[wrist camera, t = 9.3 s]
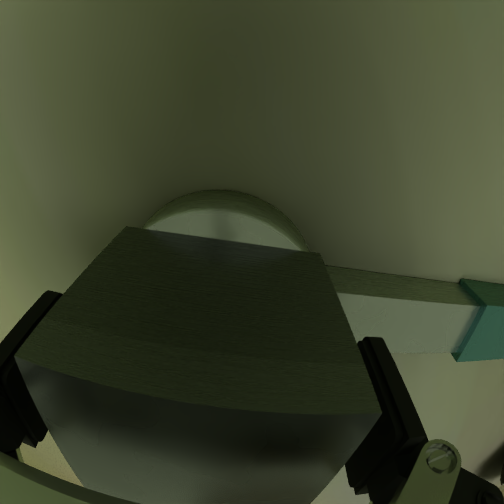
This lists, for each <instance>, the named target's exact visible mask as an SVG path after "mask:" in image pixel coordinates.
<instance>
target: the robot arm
mask: <svg viewBox="0 0 504 504" xmlns="http://www.w3.org/2000/svg"><path fill="white" fill-rule="evenodd" d="M62 295H63V294H62V293H58V292H54V291H49V290H48V291H46V292H45V293H44V294H43V295H42V296H41V297H40V298H39V299H38V300H37V301H36V302H35V303H34V305H33V306H32V307H31V308H30V309H29V310H28V311H27V312H26V314H25V315H24V316H23V317H22V318H21V319H20V320H19V322H18V323H17V324H16V325H15V326H14V328H13V329H12V330H11V331H10V332H9V333H8V335H7V336H6V337H5V338H4V340H3V341H2V342H1V343H0V504H140V503H136V502H132V501H128V500H124V499H121V498H117V497H113V496H110V495H106V494H103V493H100V492H97V491H93V490H90V489H87V488H84V487H81V486H79V485H76V484H73V483H70V482H68V481H65V480H62V479H60V478H57V477H55V476H52V475H50V474H48V473H45V472H43V471H41V470H38V469H36V468H34V467H31V466H29V465H27V464H25V463H24V461H23V458H22V454H21V451H20V445H21V443H22V442H23V443H25V444H27V445H30V446H32V447H34V448H36V446H37V444H38V442H41V441H42V440H43V439H44V437H45V435H46V433H47V431H48V428H47V426H46V425H45V423H44V421H43V419H42V417H41V415H40V413H39V411H38V409H37V407H36V405H35V403H34V401H33V399H32V397H31V395H30V393H29V391H28V388H27V386H26V384H25V382H24V379H23V377H22V375H21V372H20V370H19V368H18V365H17V363H16V360H15V358H14V355H15V354H16V352H17V351H18V350H19V348H20V347H21V346H22V345H23V343H24V342H25V341H26V339H27V338H28V337H29V335H30V334H31V333H32V332H33V330H34V329H35V328H36V327H37V325H38V324H39V323H40V322H41V320H42V319H43V318H44V317H45V315H46V314H47V313H48V312H49V311H50V309H51V308H52V307H53V306H54V305H55V303H56V302H57V301H58V300H59V299H60V298H61V296H62ZM357 345H358V348H359V350H360V353H361V356H362V358H363V361H364V364H365V366H366V369H367V372H368V374H369V377H370V380H371V383H372V385H373V388H374V391H375V394H376V396H377V399H378V402H379V405H380V408H381V411H382V414H381V416H380V417H379V419H378V420H377V422H376V423H375V424H374V426H373V427H372V429H371V430H370V432H369V433H368V434H367V436H366V437H365V438H364V440H363V441H362V442H361V444H360V445H359V446H358V448H357V449H356V450H355V452H354V453H353V454H352V456H351V457H350V458H349V459H348V461H347V462H346V463H345V467H346V472H347V477H348V483H349V485H350V487H354V491H355V495H359V494H366V493H369V497H370V502H369V504H504V497H503V494H502V492H501V491H500V489H499V488H498V487H497V486H495V485H494V484H492V483H490V482H488V481H486V480H484V479H482V478H480V477H478V476H476V475H474V474H472V473H471V472H469V471H467V470H465V469H463V468H461V456H460V454H459V452H458V450H457V449H456V448H455V447H454V445H452V444H451V443H449V442H448V441H445V440H442V439H435V440H431V441H428V438H427V435H426V433H425V430H424V428H423V426H422V423H421V421H420V418H419V416H418V414H417V411H416V409H415V407H414V404H413V402H412V400H411V397H410V395H409V393H408V391H407V388H406V386H405V384H404V382H403V379H402V377H401V375H400V373H399V371H398V368H397V366H396V364H395V362H394V360H393V358H392V356H391V353H390V351H389V349H388V347H387V345H386V343H385V341H384V339H383V338H382V337H368V336H366V337H364V338H363V340H362V341H358V342H357Z"/></svg>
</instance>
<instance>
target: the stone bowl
mask: <svg viewBox="0 0 504 504" xmlns="http://www.w3.org/2000/svg"><path fill="white" fill-rule="evenodd" d="M500 481H501V486H500V487H499V489H500V491H501V492H502V494H503V497H504V465H503V468H502V472H501V478H500Z"/></svg>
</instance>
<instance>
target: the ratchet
mask: <svg viewBox="0 0 504 504" xmlns="http://www.w3.org/2000/svg"><path fill="white" fill-rule="evenodd" d="M142 229H149V230H157V231H164V232H171V233H178V234H186V235H193V236H200V237H207V238H215V239H222V240H229V241H236V242H243V243H250V244H257V245H264V246H271V247H278V248H285V249H292V250H299V251H306V252H309V250H308V248H307V245H306V243H305V241H304V239H303V237H302V236H301V234H300V232H299V231H298V229H297V228H296V227H295V226H294V224H293V223H292V222H291V221H290V220H289V219H288V218H287V217H286V216H285V215H284V214H283V213H282V212H281V211H279V210H278V209H276V208H275V207H273V206H272V205H270V204H269V203H267V202H265V201H263V200H261V199H259V198H256V197H254V196H251V195H248V194H245V193H240V192H235V191H228V190H207V191H200V192H195V193H191V194H188V195H185V196H182V197H180V198H178V199H176V200H174V201H172V202H170V203H168V204H167V205H165V206H164V207H163V208H161V209H160V210H158V211H157V212H156V213H155V214H154V215H153V216H152V217H151V218H150V219H149V220H148V222H147V223H146V224H145V225H144V226H143V227H142ZM325 267H326V269H327V271H328V274H329V276H330V278H331V281H332V283H333V285H334V288H335V290H336V293H337V295H338V297H339V300H340V302H341V305H342V307H343V310H344V312H345V315H346V317H347V320H348V322H349V325H350V327H351V330H352V332H353V335H354V337H355V340H356V343H357V342H358V341H362V340H363V338H364V337H366V336H368V337H382V338H383V339H384V341H385V343H386V345H387V347H388V349H389V351H390V353H451V354H452V356H453V357H454V359H455V360H456V362H465V361H480V360H492V359H503V358H504V285H503V284H496V283H489V282H482V281H475V280H468V279H461V280H460V282H459V284H458V283H451V282H443V281H436V280H428V279H421V278H413V277H406V276H398V275H391V274H383V273H376V272H368V271H361V270H354V269H346V268H339V267H331V266H325Z"/></svg>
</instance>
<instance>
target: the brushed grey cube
mask: <svg viewBox="0 0 504 504" xmlns="http://www.w3.org/2000/svg"><path fill="white" fill-rule="evenodd" d="M14 358H15V360H16V363H17V365H18V368H19V370H20V372H21V375H22V377H23V379H24V382H25V384H26V386H27V388H28V391H29V393H30V395H31V397H32V399H33V401H34V403H35V405H36V407H37V409H38V411H39V413H40V415H41V417H42V419H43V421H44V423H45V425H46V426H47V428H48V430H49V432H50V434H51V436H52V437H53V439H54V441H55V442H56V444H57V446H58V448H59V449H60V451H61V453H62V454H63V456H64V457H65V459H66V461H67V462H68V464H69V465H70V467H71V468H72V470H73V471H74V473H75V474H76V476H77V477H78V479H79V480H80V482H81V483H82V484H83V486H84V487H85V488H87V489H90V490H93V491H97V492H100V493H103V494H106V495H110V496H113V497H117V498H121V499H124V500H128V501H132V502H136V503H140V504H310V503H311V502H312V501H313V500H314V499H315V498H316V497H317V496H318V495H319V494H320V493H321V491H322V490H323V489H324V488H325V487H326V486H327V485H328V484H329V482H330V481H331V480H332V479H333V478H334V477H335V475H336V474H337V473H338V472H339V471H340V469H341V468H342V467H343V466H344V464H345V463H346V462H347V461H348V459H349V458H350V457H351V456H352V454H353V453H354V452H355V450H356V449H357V448H358V446H359V445H360V444H361V442H362V441H363V440H364V438H365V437H366V436H367V434H368V433H369V432H370V430H371V429H372V427H373V426H374V424H375V423H376V422H377V420H378V419H379V417H380V416H381V414H382V411H381V408H380V405H379V402H378V399H377V396H376V394H375V391H374V388H373V385H372V383H371V380H370V377H369V374H368V372H367V369H366V366H365V364H364V361H363V358H362V356H361V353H360V350H359V348H358V345H357V343H356V340H355V337H354V335H353V332H352V330H351V327H350V325H349V322H348V320H347V317H346V315H345V312H344V310H343V307H342V305H341V302H340V300H339V297H338V295H337V293H336V290H335V288H334V285H333V283H332V281H331V278H330V276H329V274H328V271H327V269H326V267H325V264H324V262H323V260H322V257H321V255H320V253H313V252H306V251H299V250H292V249H285V248H278V247H271V246H264V245H257V244H250V243H243V242H236V241H229V240H222V239H215V238H207V237H200V236H193V235H186V234H178V233H171V232H164V231H157V230H149V229H142V228H134V227H127V226H126V227H125V228H124V229H123V230H122V231H121V232H120V233H119V234H118V235H117V236H116V237H115V238H114V239H113V240H112V242H111V243H110V244H109V245H108V246H107V247H106V248H105V249H104V250H103V251H102V252H101V253H100V254H99V255H98V256H97V257H96V258H95V259H94V261H93V262H92V263H91V264H90V265H89V266H88V267H87V268H86V269H85V270H84V271H83V273H82V274H81V275H80V276H79V277H78V278H77V279H76V280H75V281H74V283H73V284H72V285H71V286H70V287H69V288H68V289H67V291H66V292H65V293H64V294H63V295H62V296H61V298H60V299H59V300H58V301H57V302H56V303H55V305H54V306H53V307H52V308H51V309H50V311H49V312H48V313H47V314H46V315H45V317H44V318H43V319H42V320H41V322H40V323H39V324H38V325H37V327H36V328H35V329H34V330H33V332H32V333H31V334H30V335H29V337H28V338H27V339H26V341H25V342H24V343H23V345H22V346H21V347H20V348H19V350H18V351H17V352H16V354H15V355H14Z"/></svg>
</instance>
